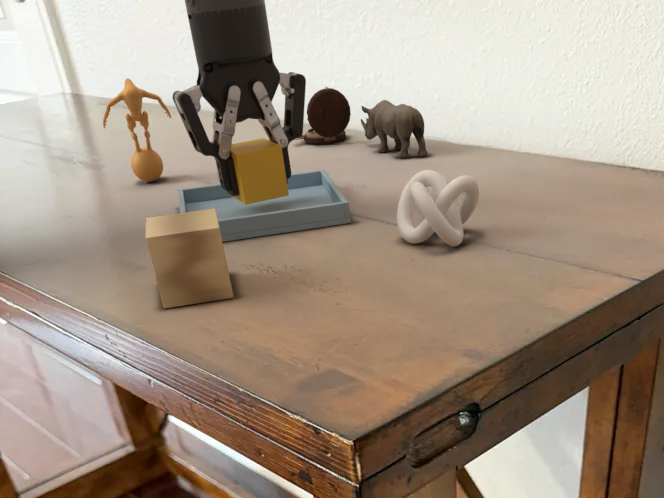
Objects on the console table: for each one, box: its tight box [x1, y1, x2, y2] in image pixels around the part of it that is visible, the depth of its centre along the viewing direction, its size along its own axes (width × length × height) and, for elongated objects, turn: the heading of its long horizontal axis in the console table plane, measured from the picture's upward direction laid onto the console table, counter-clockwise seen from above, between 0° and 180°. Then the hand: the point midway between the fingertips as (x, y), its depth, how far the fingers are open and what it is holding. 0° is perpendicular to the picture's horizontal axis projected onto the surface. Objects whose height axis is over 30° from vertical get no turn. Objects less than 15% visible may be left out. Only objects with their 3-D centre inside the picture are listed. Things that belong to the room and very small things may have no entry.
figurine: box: [102, 77, 172, 183], centre depth 101 cm, size 8×6×12 cm
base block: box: [145, 208, 235, 309], centre depth 70 cm, size 6×6×6 cm
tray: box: [177, 169, 352, 243], centre depth 89 cm, size 17×15×2 cm
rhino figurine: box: [360, 99, 429, 159], centre depth 108 cm, size 4×14×6 cm, turn 35°
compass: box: [293, 86, 352, 145], centre depth 115 cm, size 8×8×7 cm
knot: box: [396, 169, 480, 247], centre depth 77 cm, size 8×8×6 cm
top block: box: [230, 137, 289, 205], centre depth 87 cm, size 5×5×5 cm
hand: (257, 188), depth 88 cm, fingers closed on top block, 5 cm apart
